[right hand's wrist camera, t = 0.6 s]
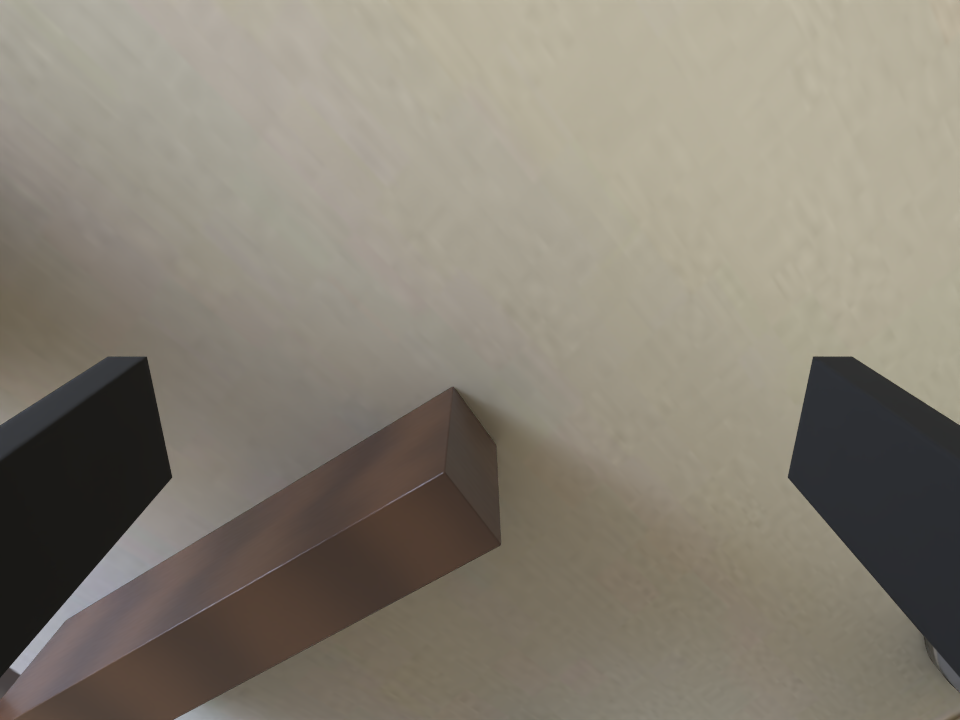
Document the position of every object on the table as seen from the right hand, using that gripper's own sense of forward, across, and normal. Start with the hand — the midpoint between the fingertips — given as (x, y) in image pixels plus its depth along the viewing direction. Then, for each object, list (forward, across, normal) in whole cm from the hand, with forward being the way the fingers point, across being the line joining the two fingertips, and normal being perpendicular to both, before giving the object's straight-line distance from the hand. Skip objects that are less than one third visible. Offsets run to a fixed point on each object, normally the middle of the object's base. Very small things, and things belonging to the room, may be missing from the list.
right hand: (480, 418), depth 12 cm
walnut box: (+24, +14, +21) cm, 35 cm away
